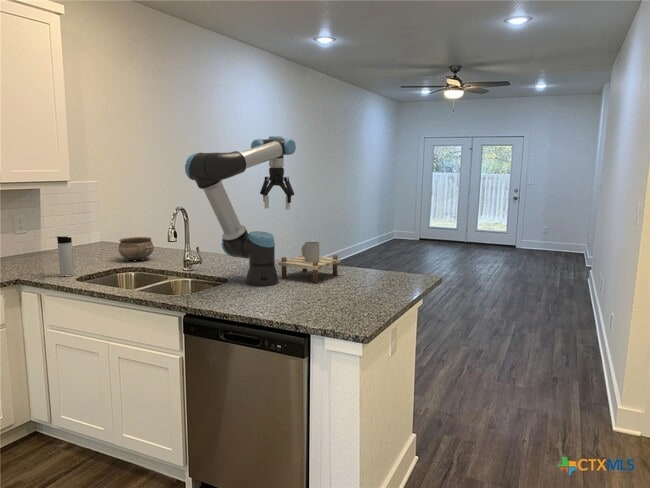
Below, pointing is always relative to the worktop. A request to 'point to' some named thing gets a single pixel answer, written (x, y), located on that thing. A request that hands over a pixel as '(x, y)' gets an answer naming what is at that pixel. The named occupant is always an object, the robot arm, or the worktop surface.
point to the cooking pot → (136, 247)
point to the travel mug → (65, 255)
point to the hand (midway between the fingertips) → (277, 208)
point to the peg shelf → (309, 265)
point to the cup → (311, 251)
